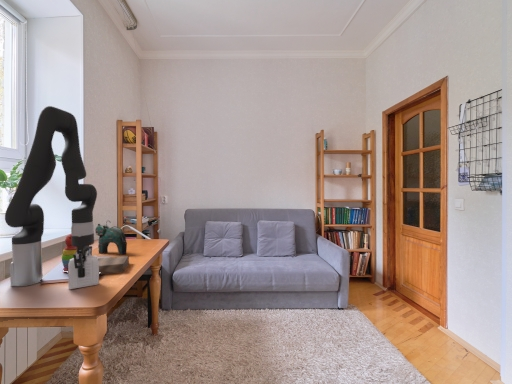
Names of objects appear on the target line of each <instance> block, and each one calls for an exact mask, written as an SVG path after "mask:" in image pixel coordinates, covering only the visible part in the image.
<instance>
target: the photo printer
mask: <svg viewBox="0 0 512 384" xmlns="http://www.w3.org/2000/svg"><path fill="white" fill-rule="evenodd" d="M98 258H99V257H98V255H93V254H92V255H87V261H86V262H85V277H83V278H78V269H77V268H75V264H74V258H72V259H70V262H69V264H68V273H67V275H68V276H67V278H68V279H67V280H68V282H67V283H68V285H67V286H68V289H69V290H74V289H78V288H79V289H80V288H85V287H90V286H91V287H93V286H98V285H99V284H100V276H99V261H98ZM83 260H84V259H83ZM79 265H81V264H80V263H79Z"/></svg>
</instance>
